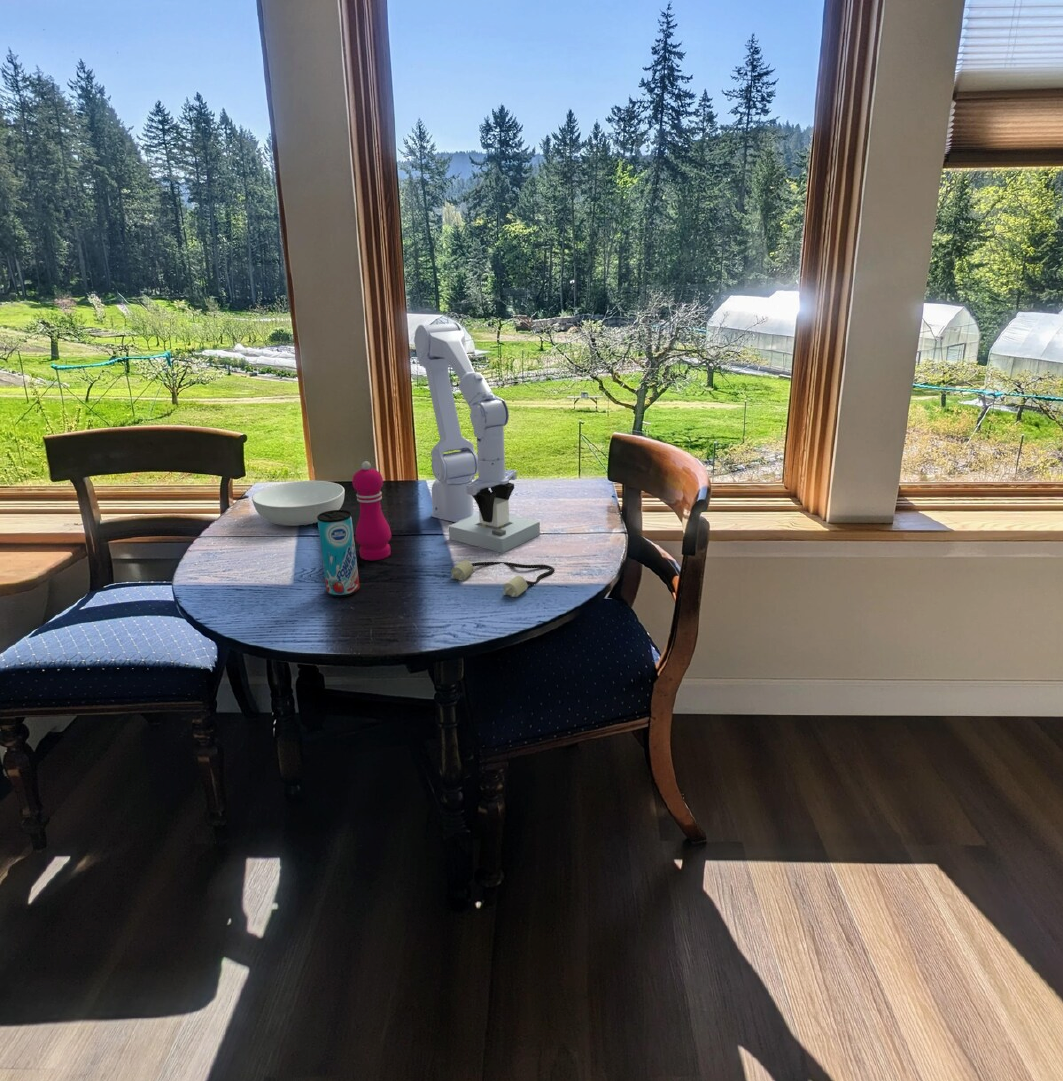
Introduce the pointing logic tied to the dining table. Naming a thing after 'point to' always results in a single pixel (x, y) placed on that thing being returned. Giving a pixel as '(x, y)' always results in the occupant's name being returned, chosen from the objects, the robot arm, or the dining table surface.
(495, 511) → the cream rectangular block
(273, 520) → the serving bowl
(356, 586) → the beverage can
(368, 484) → the pepper mill
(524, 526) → the socket plate
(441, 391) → the robot arm
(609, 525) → the dining table surface
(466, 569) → the cable
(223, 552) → the dining table surface
